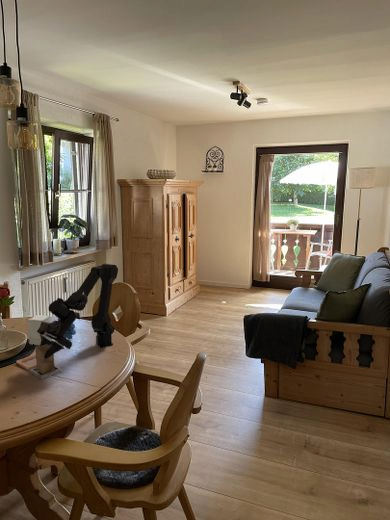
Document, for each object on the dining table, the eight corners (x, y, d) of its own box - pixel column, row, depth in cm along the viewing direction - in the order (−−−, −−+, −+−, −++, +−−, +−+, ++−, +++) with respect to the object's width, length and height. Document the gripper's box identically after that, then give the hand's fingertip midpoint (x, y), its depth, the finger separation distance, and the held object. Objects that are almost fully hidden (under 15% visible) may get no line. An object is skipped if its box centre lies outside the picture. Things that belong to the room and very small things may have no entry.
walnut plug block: (48, 366, 162) (46, 343, 161) (54, 370, 159) (53, 347, 157) (36, 370, 159) (35, 347, 157) (43, 374, 156) (41, 350, 154)
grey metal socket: (49, 365, 165) (49, 362, 165) (61, 371, 160) (60, 368, 159) (30, 372, 158) (30, 369, 158) (41, 379, 153) (41, 376, 153)
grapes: (50, 344, 187) (49, 321, 185) (52, 339, 193) (50, 316, 191) (76, 342, 190) (75, 319, 188) (76, 337, 196) (75, 314, 194)
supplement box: (42, 345, 186) (41, 320, 183) (28, 344, 187) (27, 319, 185) (51, 340, 193) (50, 315, 190) (37, 338, 194) (36, 314, 192)
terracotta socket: (39, 355, 174) (38, 353, 174) (51, 362, 168) (51, 359, 168) (16, 363, 167) (16, 360, 166) (28, 370, 160) (28, 367, 160)
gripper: (39, 308, 164) (15, 341, 157) (63, 318, 152) (39, 353, 145) (57, 321, 171) (35, 353, 165) (82, 332, 159) (59, 366, 153)
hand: (41, 356), depth 157 cm, fingers closed on walnut plug block, 5 cm apart
